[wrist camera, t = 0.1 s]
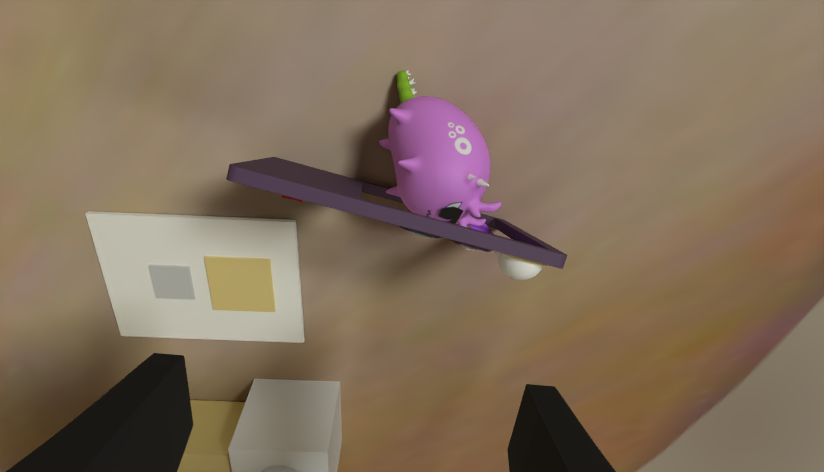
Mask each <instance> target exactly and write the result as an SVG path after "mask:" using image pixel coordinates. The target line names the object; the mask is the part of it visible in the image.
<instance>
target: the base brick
mask: <svg viewBox="0 0 824 472" xmlns="http://www.w3.org/2000/svg"><path fill="white" fill-rule="evenodd" d="M100 398H101V397H100ZM100 398H99V399H100ZM99 399H98V400H99ZM190 403H191V410H192V418H193V428H192V431H191V434H190V437H189V440H188V443H187V445H186V448H185V451H184V454H183V457H182V460H181V462H180V465H179V468H178V471H177V472H232V468H231V462H230V457H229V452H228V448H229V446H230V443H231V440H232V438H233V435H234V432H235V429H236V427H237V424H238V421H239V419H240V416H241V413H242V411H243V408H244V405H245V402H231V401H202V400H190Z"/></svg>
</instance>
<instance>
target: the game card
mask: <svg viewBox="0 0 824 472" xmlns="http://www.w3.org/2000/svg"><path fill="white" fill-rule="evenodd" d="M408 71H409V70H408ZM408 71H406V72H405V71H400V72H398V73H397V89H398V91H399V99H400V102H401V104H400V105H399V106H398V107H397V108H396V109H394V108H391V109H390V110H389V112H390V114H391V115H392V116H391V118H390V121H389V128H388V138H389V139H383V140H380V142H379V144H380V145H381V146H382V147H384V148H386V149H389V150H391V154H392V159H393V163H394V168H395V174H396V180H397V186H396V187H393V188H391V189H389V188H386V187H382V186H378V185H375V184H371V183H367V182H364V181H360V180H356V179H353V178H349V177H345V176H342V175H338V174H334V173H331V172H327V171H324V170H320V169H316V168H313V167H309V166H305V165H302V164H298V163H294V162H291V161H287V160H283V159H280V158H276V157H271V158H264V159H258V160H252V161H246V162H240V163H234V164H230V165H229V170H228V174H227V178H226V179H227V180H229V181H232V182H236V183H240V184H243V185H247V186H251V187H255V188H258V189H262V190H266V191H270V192H274V193H277V194H281V195H282V197H284V198H289V199H294V200H297V201H299V202H302V201H303V200H304V201H308V202H311V203H315V204H319V205H323V206H326V207H330V208H334V209H338V210H342V211H345V212H349V213H353V214H357V215H360V216H364V217H368V218H372V219H375V220H379V221H383V222H387V223H391V224H394V225H397V226H399V227H401V228H403V229H405V230H407V231H410V232H412V234H415V235H418V236H422V237H426V236H427V237H431V238H432V237H433V238H447V239H449V240H451V241H454V243H456V244H460V245H461V246H462V248H464V249H467V250H471V251H476V249H479V250H483V251H486V252H489V251H494V252H495V253H497V255H498V262H499V265H500V267H501V269H502V271H503V272H504V273H505V274H506V275H507V276H509V277H511V278H513V279H516V280H527V279H530V278H532V277H534V276H535V275H537V274H538V273H539V272H540V270H541V269H542V267H543V265H549V266H553V267H557V268H563V266H564V263H565V260H566V257H567V255H566V254H564V253H563V252H561V251H559V250H557V249H555V248H554V247H552V246H550V245H548V244H546V243H545V242H543V241H541V240H539V239H537V238H536V237H534V236H532V235H530V234H528V233H527V232H525V231H523V230H521V229H519V228H518V227H516V226H514V225H512V224H510V223H509V222H507V221H505V220H502V219H499V218H495V217H491V216H488V215H484V214H480V212H479V211H481V212H493V211H496V210H497V209H498V208H499V207H500V206H501V204H502V203H501V202H497V203H483V202H480V200H481V198H482V197H483V195H484V192H485V190H486V187H487V186H490V185H489V184H488V181H489V176H490V155H489V151H488V147H487V145H486V142H485V140H484V138H483V136H482V134H481V133H480V131H479V129H478V128H477V127H476V125H475V124H474V123H473V122H472V120H471V119H470V118H469V117H468V116H467V115H466V114H465V113H464V112H462V111H461V110H460V109H459V108H457V107H456V106H454V105H453V104H451V103H449V102H447V101H445V100H442V99H439V98H435V97H428V96H421V97H415V96H414V94H415V93H417V92H415V91H414V90H415V88H414V89H411V85H412V84H415V82H413V81H414V79H413V80H411V81H409V80H408V79H409V78H410V77H408V76H409V75H411V74H410V73H408ZM361 191H362V192H365V193H369V194H373V195H376V196H380V197H384V198H387V199H391V200H395V201H398V202H402V203H404V204H405V206H406V207H407V208H408V209H409V210H410V211H411V212H408V211H405V210H401V209H397V208H393V207H390V206H386V205H382V204H379V203H375V202H371V201H367V200H364V199H361ZM449 222H450V223H449ZM456 222H457V223H458V225H457V224H455V223H456ZM467 224H469V225H470V228H468V227H467ZM488 226H491V227H494V228H496V229H498V230H499V231H501V232H502V233H504V234H505V235H507V236H508V237H510V238H511V239H509V238H505V237H501V236H497V235H494V234H493V233H492V232H491V230H490V229H489V228H488ZM512 239H513V240H512Z"/></svg>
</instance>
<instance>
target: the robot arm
mask: <svg viewBox="0 0 824 472" xmlns="http://www.w3.org/2000/svg"><path fill="white" fill-rule="evenodd" d="M192 428H193V418H192V410H191V403H190V396H189V388H188V381H187V374H186V366H185V359H184V356H182V355H171V354H159V353H154V354H153V355H151V356H150V357H149V358H147V359H146V360H145V361H144V362H143V363H141V364H140V365H139V366H138V367H137V368H135V369H134V370H133V371H132V372H131V373H129V374H128V375H127V376H126V377H125V378H124V379H122V380H121V381H120V382H119V383H118V384H116V385H115V386H114V387H113V388H112V389H110V390H109V391H108V392H107V393H106V394H105V395H103V396H102V397H101V398H100V399H99V400H97V401H96V402H95V403H94V404H93V405H91V406H90V407H89V408H88V409H86V410H85V411H84V412H83V413H81V414H80V415H79V416H78V417H76V418H75V419H74V420H73V421H72V422H70V423H69V424H68V425H67V426H65V427H64V428H63V429H62V430H60V431H59V432H58V433H57V434H55V435H54V436H53V437H52V438H50V439H49V440H48V441H46V442H45V443H44V444H42V445H41V446H40V447H38V448H37V449H36V450H34V451H33V452H32V453H30V454H29V455H28V456H26V457H25V458H24V459H22V460H21V461H20V462H18V463H17V464H16V465H14V466H13V467H12V468H10V469H9V470H8V471H6V472H177V471H178V468H179V465H180V462H181V460H182V457H183V454H184V451H185V448H186V445H187V443H188V440H189V437H190V434H191V431H192ZM508 459H509V470H510V472H616V471H615V470H614V469H613V467H612V466H611V465H610V463H609V462H608V461H607V459H606V458H605V457H604V455H603V454H602V453H601V451H600V450H599V449H598V447H597V446H596V445H595V443H594V442H593V440H592V439H591V438H590V436H589V435H588V433H587V432H586V430H585V429H584V428H583V426H582V425H581V423H580V422H579V421H578V419H577V418H576V416H575V415H574V413H573V412H572V410H571V409H570V408H569V406H568V405H567V403H566V402H565V400H564V399H563V397H562V396H561V395H560V393H559V392H558V390H557V389H556V388H555V387H553V386H541V385H529V384H526V387H525V391H524V394H523V398H522V401H521V405H520V408H519V412H518V415H517V418H516V422H515V425H514V429H513V432H512V436H511V439H510V443H509V446H508Z"/></svg>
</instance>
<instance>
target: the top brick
mask: <svg viewBox="0 0 824 472" xmlns="http://www.w3.org/2000/svg"><path fill="white" fill-rule="evenodd" d="M341 442H342V430H341V399H340V382H335V381H307V380H279V379H254V381H253V384H252V386H251V389H250V392H249V394H248V397H247V400H246V402H245V405H244V408H243V411H242V413H241V416H240V419H239V421H238V424H237V427H236V429H235V432H234V435H233V438H232V440H231V443H230V446H229V448H228V452H229V457H230V462H231V468H232V472H337V469H338V463H339V456H340V449H341Z"/></svg>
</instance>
